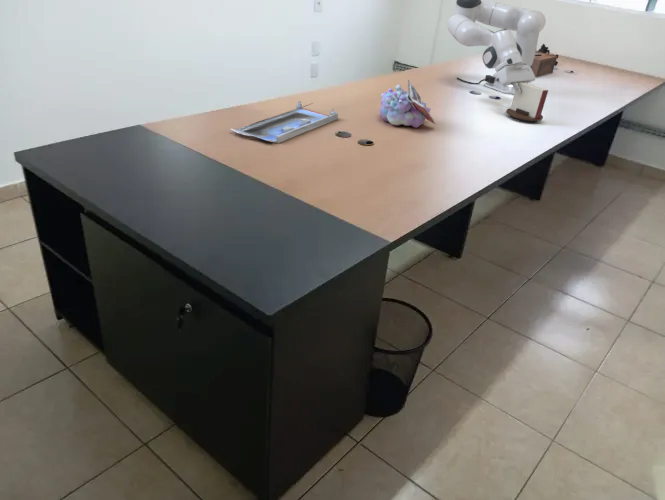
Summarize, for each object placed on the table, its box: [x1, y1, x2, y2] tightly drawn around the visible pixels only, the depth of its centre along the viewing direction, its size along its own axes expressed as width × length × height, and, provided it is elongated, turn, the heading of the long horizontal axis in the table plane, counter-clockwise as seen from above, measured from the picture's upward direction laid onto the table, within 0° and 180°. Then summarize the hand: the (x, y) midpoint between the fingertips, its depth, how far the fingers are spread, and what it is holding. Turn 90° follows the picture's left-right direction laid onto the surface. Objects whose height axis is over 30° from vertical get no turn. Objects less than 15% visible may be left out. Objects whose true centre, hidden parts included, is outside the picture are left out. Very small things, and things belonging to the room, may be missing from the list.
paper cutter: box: [230, 101, 339, 144], centre depth 203 cm, size 18×45×6 cm, turn 148°
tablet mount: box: [537, 43, 559, 66], centre depth 374 cm, size 27×14×17 cm
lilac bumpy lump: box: [379, 79, 436, 129], centre depth 219 cm, size 20×22×18 cm
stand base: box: [509, 115, 538, 124], centre depth 246 cm, size 12×12×1 cm
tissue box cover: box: [532, 50, 558, 78], centre depth 336 cm, size 26×14×10 cm, turn 139°
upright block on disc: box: [505, 82, 549, 122], centre depth 242 cm, size 16×16×13 cm
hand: (522, 92), depth 244 cm, fingers closed on upright block on disc, 3 cm apart
